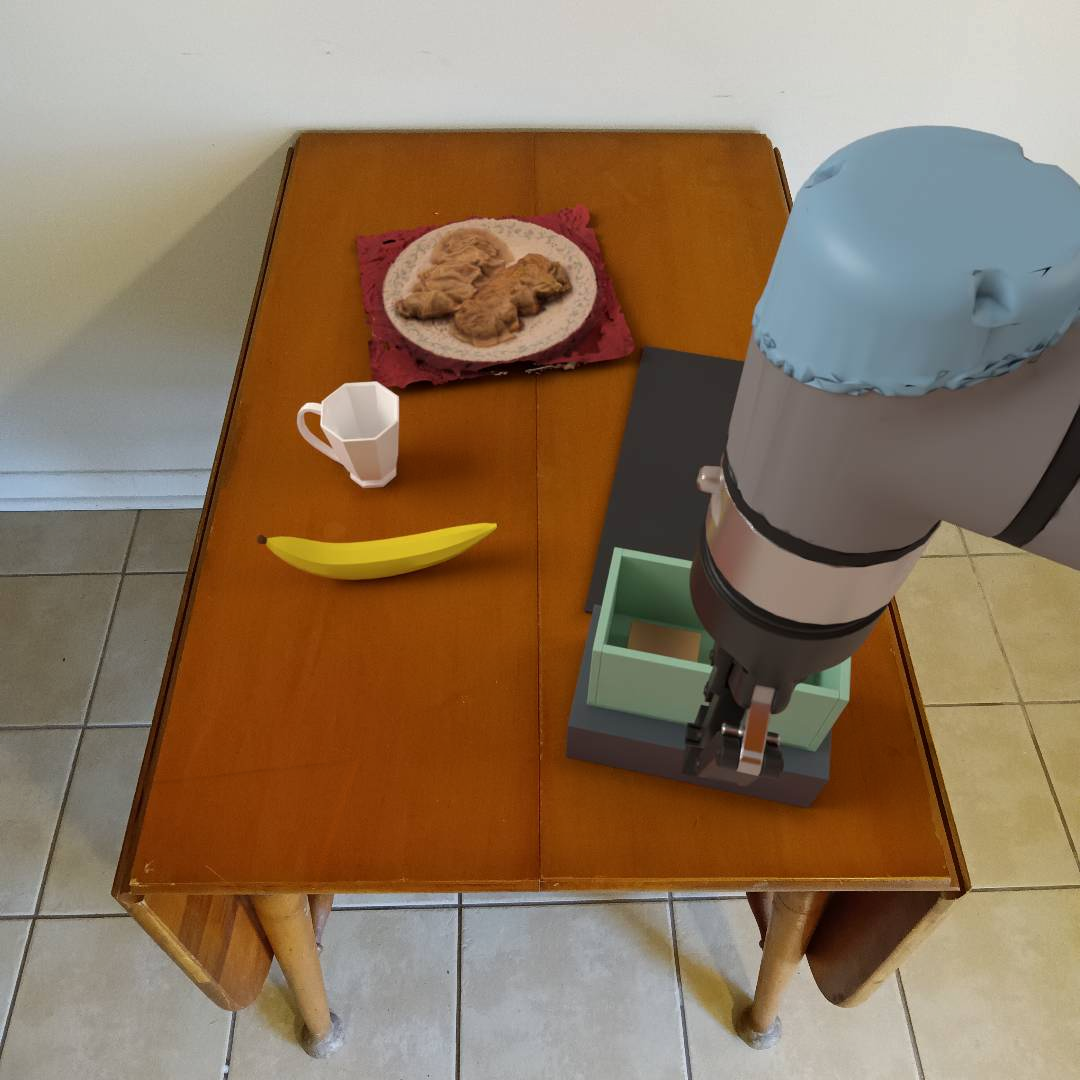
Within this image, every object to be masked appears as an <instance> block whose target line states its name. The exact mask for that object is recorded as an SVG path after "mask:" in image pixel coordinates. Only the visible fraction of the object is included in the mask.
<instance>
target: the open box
mask: <svg viewBox="0 0 1080 1080" xmlns="http://www.w3.org/2000/svg"><path fill="white" fill-rule="evenodd" d="M691 565H692V561H687V560H682V559H676V558H671V557H666V556H660V555H655V554H649V553H644V552H639V551H633V550H628V549H622V548H617V547H615V548H614V552H613V557H612V561H611V566H610V571H609V576H608V580H607V585H606V590H605V594H604V599H603V604H602V608H601V613H600V618H599V622H598V627H597V632H596V637H595V641H594V646H593V652H592V661H591V671H590V680H589V690H588V699H587V705H590V706H595V707H600V708H605V709H610V710H615V711H620V712H625V713H629V714H634V715H639V716H644V717H649V718H654V719H659V720H663V721H668V722H673V723H678V724H683V725H687V724H688V722H689V723H694V722H695V720H696V717H697V714H698V711H699V709H700V706H701V705H705V706H708V705H709V702H705V697H704V695H703V691H704V686H705V685H706V683H707V681H708V680H709V677H710V674H711V671H712V668H713V667H712V666H710V662H711V661H710V659H709V654H710V650H712V649H713V646H714V643H715V641H714V640H713V639H712V637H711V636H710V635H709V634H708V633H707V631H706V630H705V628H704V627H703V625H702V624H701V622H700V620H699V618H698V616H697V614H696V612H695V609H694V607H693V603H692V600H691V595H690V586H689V578H690V570H691ZM632 620H634V621H639V622H644V623H649V624H654V625H660V626H665V627H670V628H675V629H680V630H685V631H691V632H696V633H701V642H700V649H699V656H698V663H697V662H692V661H687V660H682V659H677V658H672V657H666V656H661V655H656V654H651V653H646V652H641V651H636V650H631V649H626V647H627V642H628V637H629V631H630V626H631V621H632ZM851 671H852V656H851V657H849V658H848V659H847V660H845V661H844V662H842V663H840V664H838V665H836V666H834V667H832V668H829V669H827V670H824V671H821V672H818V673H815V674H812V675H809V676H808V677H807V679H806V681H804V682H803V683H800V684H797V685H796V687H795V689H794V691H793V692H792V695H791V699H790V702H789V704H788V706H787V707H786V709H785V710H784V711H782V712H781V713H778V714H771V717H770V723H769V728H768V731H769V732H774V733H779V734H780V736H781V738H780V745H785V746H790V747H795V748H800V749H805V750H809V751H814V752H816V750H817V749H818V747H819V746H820V744H821V743H822V741H823V740H824V738H825V737H826V735H827V734H828V732H829V731H830V729H831V727H832V728H833V726H834V725H835V723H836V722H837V720H838V719H839V717H840V715H841V714H842V713H843V711H844V709H845V708H846V706H847V705H848V704H849V702H850V696H851V695H850V692H851Z"/></svg>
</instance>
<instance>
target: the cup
mask: <svg viewBox="0 0 1080 1080" xmlns="http://www.w3.org/2000/svg"><path fill="white" fill-rule="evenodd" d="M310 412H311V413H313V414H316V415H319V416H320V422H319V423H320V425H319V426H320V428H321V429H322V431H323V434H324V435H325V437H326V439H327V440H328V442H329V444H330V446H329V445H328V444H326V443H325V442H324V441H322V440H321V439H319V438H318V437H317V436H316V435H315V434H313V433H312V432H311V431H310V430H309V428H308V427H307V425H306V422H305V421H306V420H305V414H306V413H310ZM296 416H297V417H296V424H297V429H298V431H299V433H300V434H301V436H302V437H303V439H304V440H305V441H306V442H308V443H309V444H310V445H311V447H313V448H315V449H316V450H318V451H319V452H321V453H322V454H323V455H325V456H327V457H329V458H330V459H332V460H333V461H335V462H337V463H339V464H341V465H343V466H344V468H345V469H346V471H347V472H349V473H350V474H349V476H350V479H351V480H352V481H353V482H355V483H356V484H357V485H359V486H360V487H362V488H363V489H374V488H383V487H385V486H386V485H388V483H389V482H391V481H392V480H393V479H394V478H395V477H396V476H397V462H398V458H399V435H400V434H399V431H400V430H399V429H400V395H398V394H396V393H394V392H393V391H392V390H390V389H388V387H384V386H383V385H381V384H380V383H378V382H377V381H376V382H372V381H362V382H361V381H359V382H345V383H344V384H342V385H341V386H339V387H338V388H336V390H334V391H333V392H332V393H330V394H329V395H328V396H327V397H325V398H324V399H323V400H321V403H317V402H306V403H304V405H302V406H301V408H300V409H299V411H298V413H297V415H296Z"/></svg>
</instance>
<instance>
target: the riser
mask: <svg viewBox="0 0 1080 1080" xmlns="http://www.w3.org/2000/svg"><path fill="white" fill-rule="evenodd" d="M601 608H602V606H601V605H596V604H595V605H594V608H593V613H591V617H590V623H589V626H588V632H587V636H586V641H585V646H584V649H583V654H582V658H581V663H580V667H579V672H578V676H577V677H578V678H577V682H576V685H575V686H576V687H575V691H574V695H573V700H572V705H571V710H570V714H569V719H568V724H567V732H566V733H567V734H566V747H565V748H566V750H565V757H566V758H570V759H574V760H579V761H583V762H588V763H593V764H597V765H603V766H607V767H611V768H617V769H621V770H626V771H631V772H635V773H640V774H645V775H650V776H653V777H659V778H663V779H669V780H674V781H678V782H682V783H687V784H692V785H696V786H700V787H705V788H710V789H716V790H721V791H725V792H729V793H733V794H740V795H742V796H743V795H744V796H749V797H753V798H758V799H762V800H767V801H772V802H775V803H782V804H786V805H791V806H795V807H800V808H805V809H809V808H810V806H811V805H812V804H813V802H814V801H815V800H816V798H817V797H818V796H819V794H820V792H821V791H822V790H823V789H824V787H825V786H826V785H827V783H828V782H829V781H830V769H831V768H830V767H831V749H832V731H833V726H832V727H831V729H830V731H829V732H828V734H827V735H826V737H825V738H824V740H823V741H822V743H821V744H820V746H819V747H818V749H817V750H816V752H814V751H809V750H805V749H800V748H795V747H790V746H785V745H780V744H779V748H780V749H781V751H782V758H783V760H784V768H783V771H782V772H780V774H779V777H778V779H777V780H776V779H771V778H766V777H760V778H758V779H756V780H755V781H753V782H752V783H750V784H749V785H747V786H746V787H744V786H740V785H734V784H730V783H723V782H718V781H714V780H709V779H704V778H699V777H695V776H690V775H685V774H681V771H682V764H683V757H684V750H685V747H686V745H684V740H685V733H686V728H687V725H683V724H678V723H673V722H668V721H663V720H659V719H654V718H649V717H644V716H639V715H634V714H629V713H625V712H620V711H615V710H610V709H605V708H600V707H595V706H590V705H587V699H588V690H589V680H590V671H591V661H592V652H593V646H594V641H595V637H596V632H597V627H598V622H599V618H600V613H601Z"/></svg>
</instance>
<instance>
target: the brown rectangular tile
mask: <svg viewBox="0 0 1080 1080" xmlns="http://www.w3.org/2000/svg"><path fill="white" fill-rule="evenodd" d="M700 642H701V633H696V632H691V631H685V630H680V629H675V628H670V627H665V626H660V625H654V624H649V623H644V622H639V621H634V620H632V621H631V626H630V631H629V637H628V642H627V647H626V649H631V650H636V651H641V652H646V653H651V654H656V655H661V656H666V657H672V658H677V659H682V660H687V661H692V662H697V663H698V656H699V649H700Z"/></svg>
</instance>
